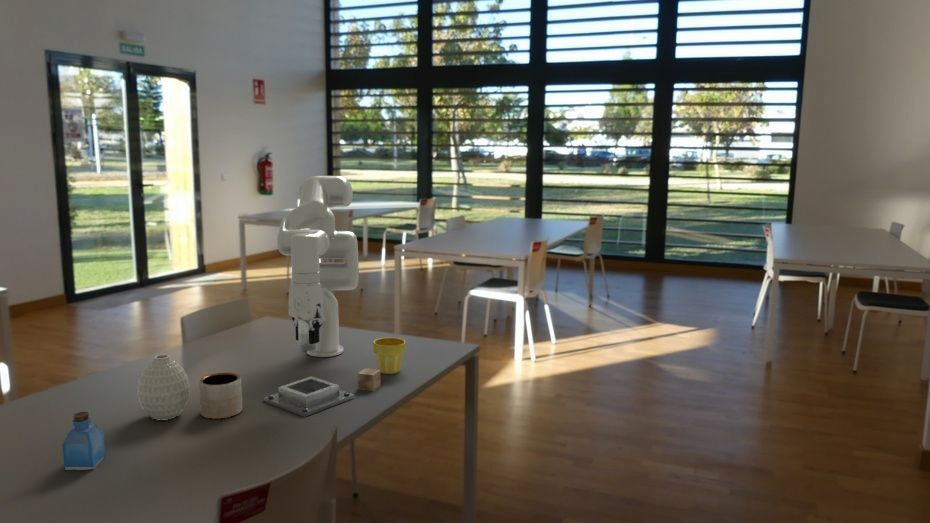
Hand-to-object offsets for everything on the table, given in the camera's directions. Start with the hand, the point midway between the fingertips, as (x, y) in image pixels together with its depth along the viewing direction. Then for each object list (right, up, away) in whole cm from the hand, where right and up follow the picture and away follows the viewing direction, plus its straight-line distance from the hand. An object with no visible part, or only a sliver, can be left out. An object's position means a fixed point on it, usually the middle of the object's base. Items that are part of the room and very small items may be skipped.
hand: (307, 340), depth 195 cm
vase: (-36, -19, -10) cm, 42 cm away
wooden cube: (+16, -16, +13) cm, 26 cm away
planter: (-22, -19, -7) cm, 30 cm away
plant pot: (+20, -13, +29) cm, 37 cm away
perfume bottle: (-42, -24, -38) cm, 61 cm away
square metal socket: (0, -17, +3) cm, 17 cm away
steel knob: (0, -2, 0) cm, 2 cm away
